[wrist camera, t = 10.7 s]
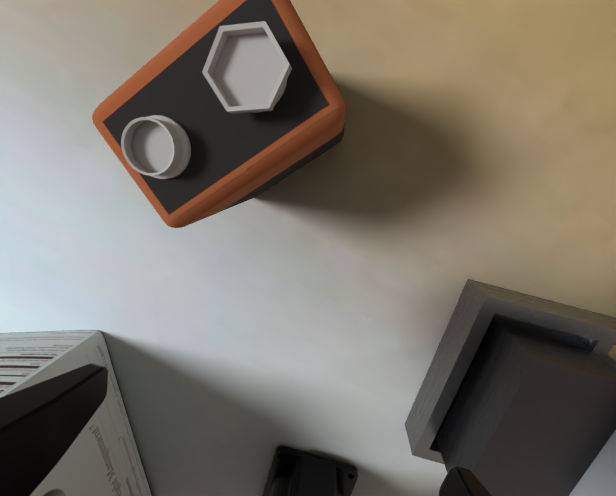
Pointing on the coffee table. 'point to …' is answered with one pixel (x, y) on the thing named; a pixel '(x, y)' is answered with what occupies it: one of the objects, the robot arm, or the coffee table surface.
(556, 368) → the rack
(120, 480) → the supplement box
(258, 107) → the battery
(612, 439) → the grey block
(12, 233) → the coffee table surface
